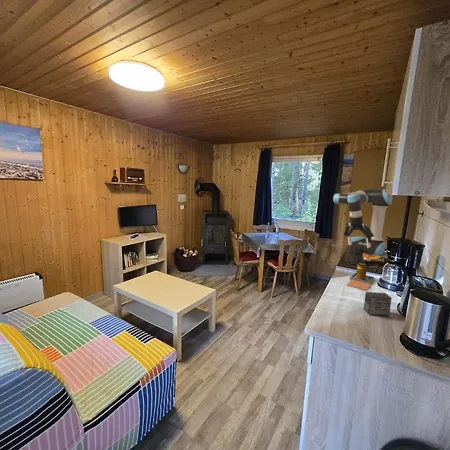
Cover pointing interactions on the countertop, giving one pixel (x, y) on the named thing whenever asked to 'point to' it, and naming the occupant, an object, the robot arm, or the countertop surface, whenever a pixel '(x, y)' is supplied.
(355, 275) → the holder
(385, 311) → the small box
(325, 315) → the countertop surface
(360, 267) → the condiment
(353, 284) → the tile
